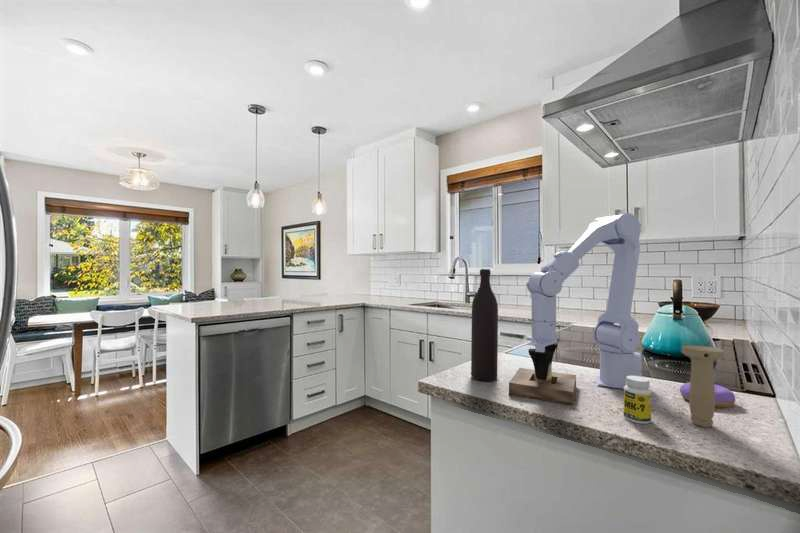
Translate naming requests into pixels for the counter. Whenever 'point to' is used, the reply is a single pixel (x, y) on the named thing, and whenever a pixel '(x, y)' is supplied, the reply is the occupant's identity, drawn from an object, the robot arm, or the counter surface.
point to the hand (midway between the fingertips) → (543, 375)
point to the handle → (702, 383)
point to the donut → (721, 395)
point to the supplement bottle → (637, 400)
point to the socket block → (543, 387)
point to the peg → (549, 376)
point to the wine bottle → (484, 331)
